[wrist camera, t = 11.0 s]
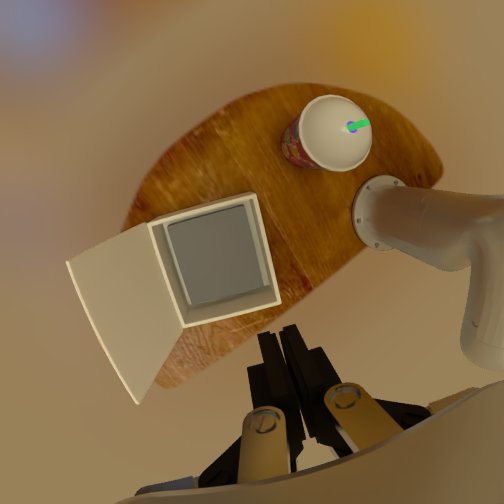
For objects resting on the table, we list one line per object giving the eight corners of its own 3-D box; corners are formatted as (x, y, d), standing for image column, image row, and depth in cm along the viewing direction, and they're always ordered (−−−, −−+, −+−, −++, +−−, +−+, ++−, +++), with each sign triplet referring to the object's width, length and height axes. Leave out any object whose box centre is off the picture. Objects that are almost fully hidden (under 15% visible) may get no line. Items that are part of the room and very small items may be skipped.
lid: (68, 260, 19) (64, 261, 19) (139, 404, 23) (135, 404, 23) (145, 222, 33) (142, 222, 33) (183, 330, 37) (179, 330, 37)
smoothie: (328, 173, 41) (407, 173, 21) (275, 173, 40) (322, 169, 21) (325, 120, 39) (399, 85, 19) (272, 118, 38) (315, 71, 19)
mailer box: (250, 191, 40) (256, 193, 34) (272, 285, 44) (281, 303, 38) (158, 216, 40) (146, 223, 33) (187, 307, 44) (182, 328, 37)
